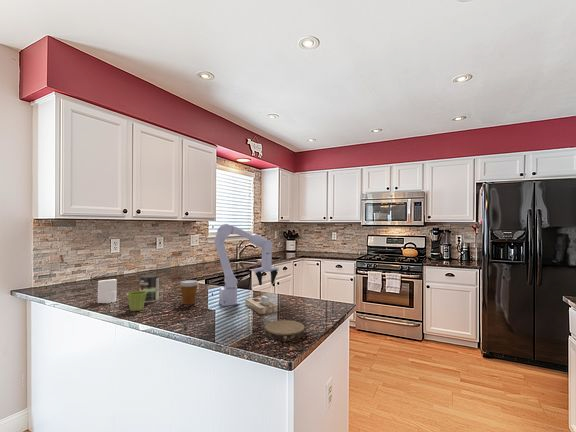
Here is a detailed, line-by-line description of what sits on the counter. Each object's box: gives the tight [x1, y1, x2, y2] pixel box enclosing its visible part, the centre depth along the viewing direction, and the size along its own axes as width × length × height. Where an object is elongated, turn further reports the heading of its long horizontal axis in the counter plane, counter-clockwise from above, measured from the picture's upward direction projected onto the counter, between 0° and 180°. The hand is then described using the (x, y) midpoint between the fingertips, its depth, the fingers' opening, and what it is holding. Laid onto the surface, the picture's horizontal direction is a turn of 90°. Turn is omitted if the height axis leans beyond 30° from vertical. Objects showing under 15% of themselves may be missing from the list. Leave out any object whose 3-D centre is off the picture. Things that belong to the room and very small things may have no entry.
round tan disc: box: [264, 319, 305, 342], centre depth 120 cm, size 16×16×3 cm
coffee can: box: [138, 273, 160, 304], centre depth 171 cm, size 10×10×14 cm
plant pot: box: [126, 290, 147, 312], centre depth 152 cm, size 9×9×9 cm
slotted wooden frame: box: [244, 296, 278, 315], centre depth 156 cm, size 9×20×3 cm, turn 29°
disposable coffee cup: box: [179, 279, 199, 305], centre depth 166 cm, size 10×10×12 cm
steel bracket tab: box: [260, 295, 269, 307], centre depth 152 cm, size 2×5×7 cm, turn 29°
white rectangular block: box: [97, 278, 118, 304], centre depth 168 cm, size 9×9×12 cm
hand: (266, 284), depth 171 cm, fingers open, 7 cm apart
